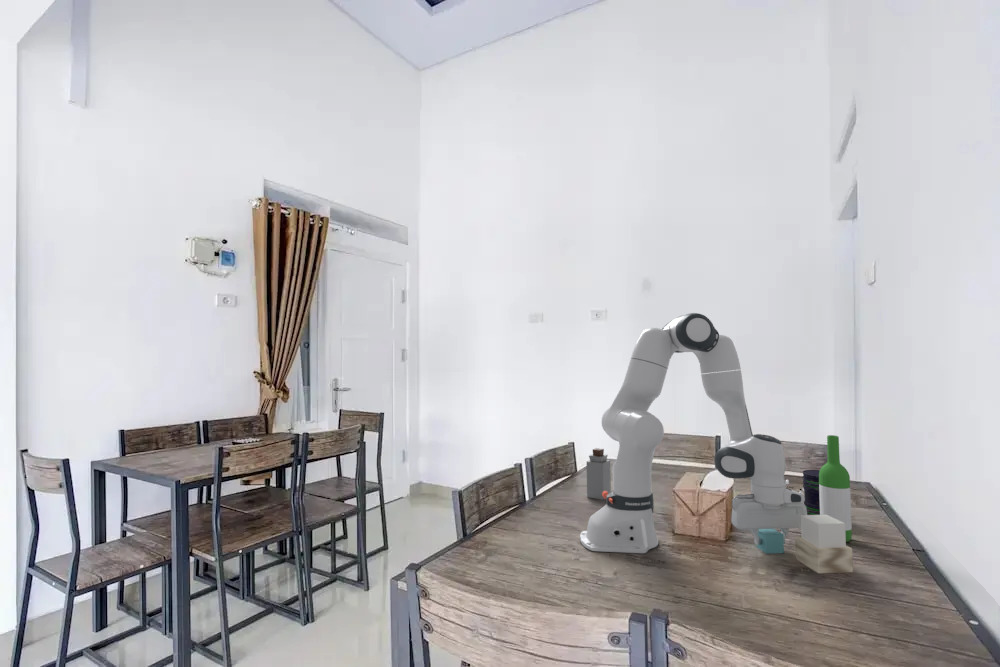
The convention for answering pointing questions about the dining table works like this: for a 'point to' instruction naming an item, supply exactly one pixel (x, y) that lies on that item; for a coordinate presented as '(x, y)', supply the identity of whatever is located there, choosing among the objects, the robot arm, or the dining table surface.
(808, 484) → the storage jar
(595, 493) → the perfume bottle
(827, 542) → the white middle block
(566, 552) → the dining table surface
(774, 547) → the teal cube
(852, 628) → the dining table surface
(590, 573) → the dining table surface
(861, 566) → the dining table surface
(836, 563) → the birch base block
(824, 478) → the wine bottle
